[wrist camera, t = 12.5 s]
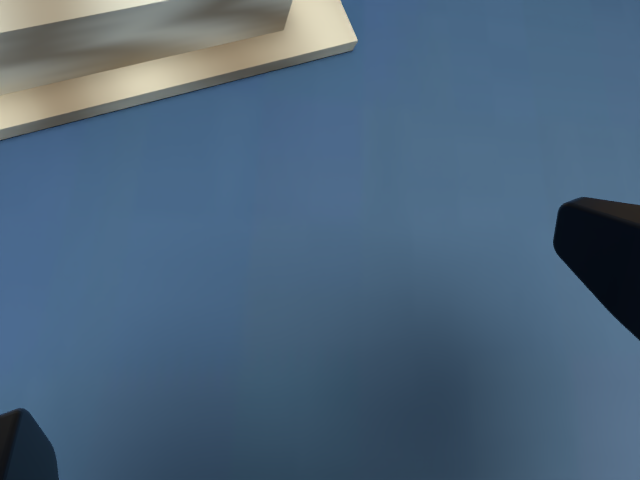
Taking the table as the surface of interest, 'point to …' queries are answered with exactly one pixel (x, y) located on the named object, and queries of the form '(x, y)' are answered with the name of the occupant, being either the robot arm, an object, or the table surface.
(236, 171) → the table surface
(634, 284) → the robot arm
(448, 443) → the table surface
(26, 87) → the bottle holder
